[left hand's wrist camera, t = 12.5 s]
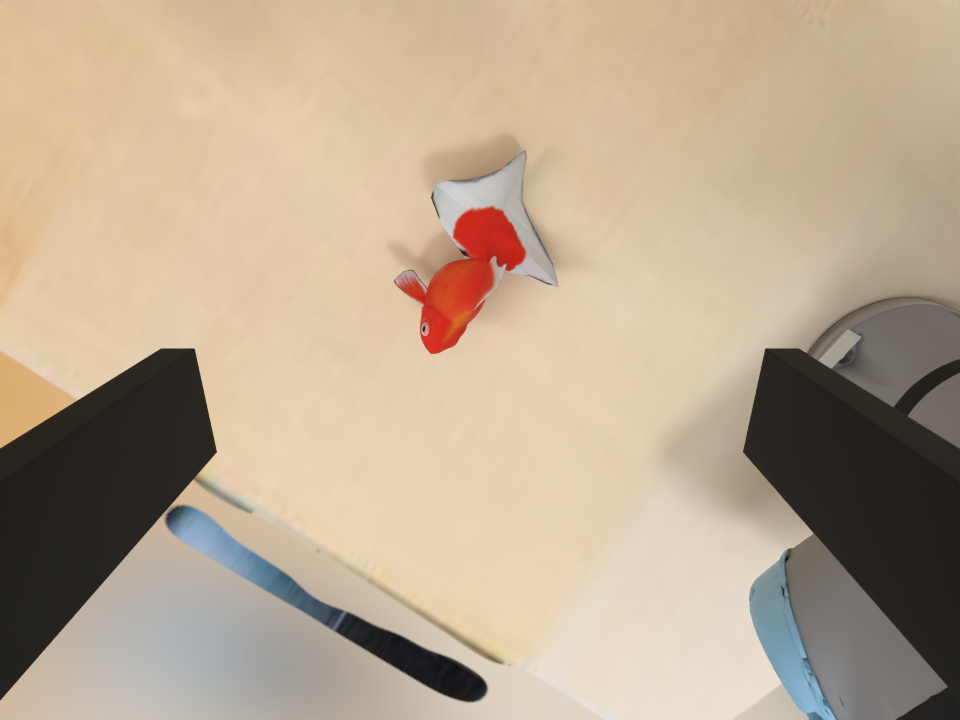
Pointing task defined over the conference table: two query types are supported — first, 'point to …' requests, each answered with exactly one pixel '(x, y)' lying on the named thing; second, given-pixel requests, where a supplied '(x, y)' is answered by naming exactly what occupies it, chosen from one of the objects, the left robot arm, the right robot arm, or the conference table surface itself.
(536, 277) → the fish
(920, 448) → the left robot arm
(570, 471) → the conference table surface
